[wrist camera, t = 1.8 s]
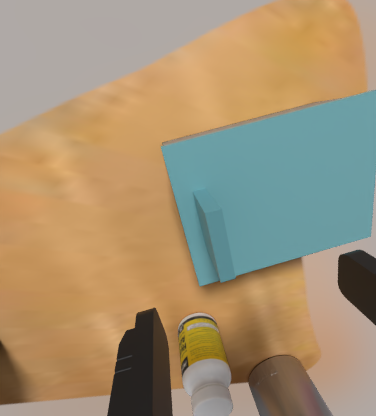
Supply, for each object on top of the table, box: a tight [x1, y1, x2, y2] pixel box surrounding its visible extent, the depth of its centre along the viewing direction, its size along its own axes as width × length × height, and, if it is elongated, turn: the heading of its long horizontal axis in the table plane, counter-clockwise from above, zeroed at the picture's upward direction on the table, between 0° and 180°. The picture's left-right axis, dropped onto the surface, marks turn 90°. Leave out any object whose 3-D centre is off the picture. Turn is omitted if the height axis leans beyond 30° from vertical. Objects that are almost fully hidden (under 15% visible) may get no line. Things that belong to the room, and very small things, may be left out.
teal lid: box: [161, 90, 376, 286], centre depth 17 cm, size 16×12×6 cm
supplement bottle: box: [178, 313, 233, 416], centre depth 26 cm, size 5×5×10 cm
